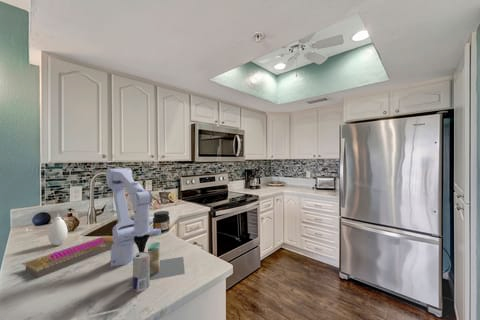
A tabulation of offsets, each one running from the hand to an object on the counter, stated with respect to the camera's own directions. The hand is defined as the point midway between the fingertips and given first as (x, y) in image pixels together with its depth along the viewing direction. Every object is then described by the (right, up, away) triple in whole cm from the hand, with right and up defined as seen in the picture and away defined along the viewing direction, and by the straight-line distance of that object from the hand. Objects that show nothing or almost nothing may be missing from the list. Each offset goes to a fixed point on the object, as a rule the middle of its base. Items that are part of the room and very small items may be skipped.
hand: (142, 253), depth 80 cm
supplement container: (-12, -9, +51) cm, 53 cm away
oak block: (+4, -7, +1) cm, 9 cm away
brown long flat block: (-38, -9, +15) cm, 42 cm away
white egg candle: (-62, -9, +29) cm, 69 cm away
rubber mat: (+7, -8, +2) cm, 11 cm away
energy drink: (+5, -8, -10) cm, 14 cm away
